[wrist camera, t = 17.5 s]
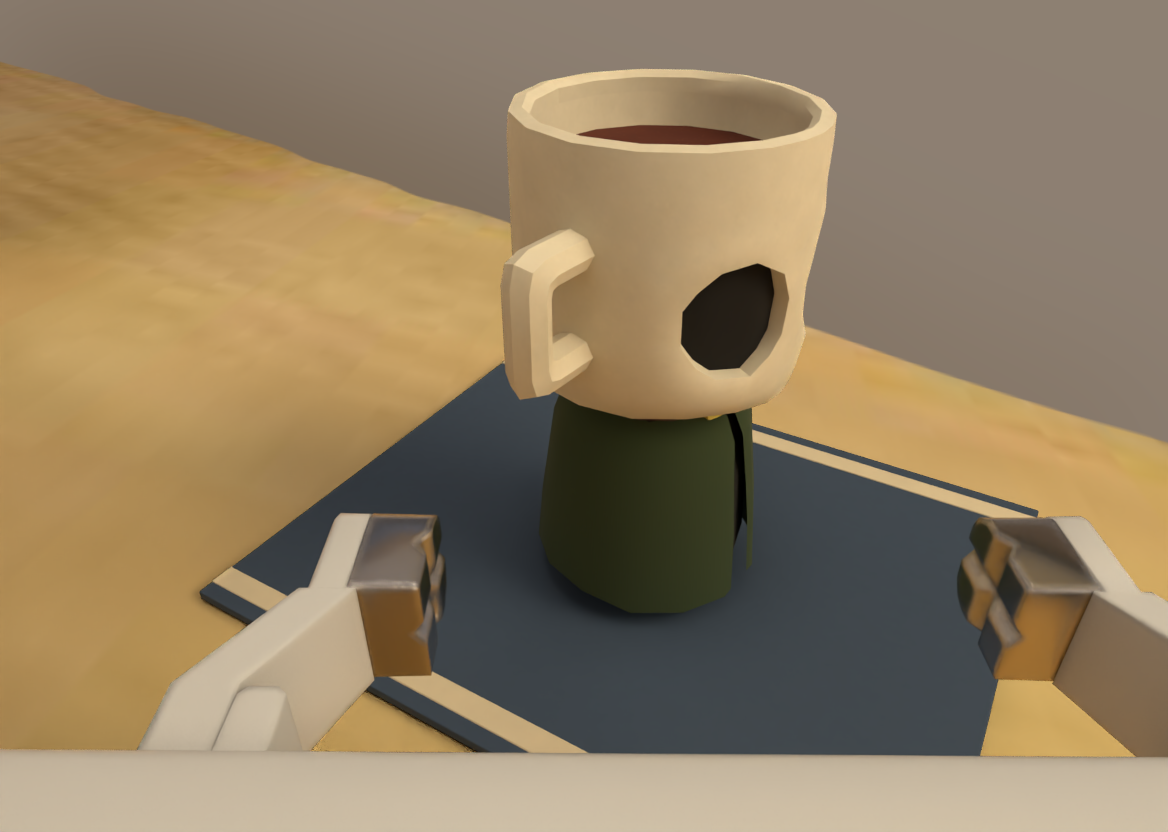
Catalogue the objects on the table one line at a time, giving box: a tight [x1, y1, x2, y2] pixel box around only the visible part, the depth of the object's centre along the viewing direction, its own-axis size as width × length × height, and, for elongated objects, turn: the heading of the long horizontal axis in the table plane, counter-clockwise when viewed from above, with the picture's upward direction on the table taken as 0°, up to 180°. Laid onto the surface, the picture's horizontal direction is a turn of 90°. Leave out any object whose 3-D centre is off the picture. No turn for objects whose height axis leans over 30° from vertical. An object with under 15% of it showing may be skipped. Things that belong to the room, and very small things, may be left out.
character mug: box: [501, 69, 837, 613], centre depth 22 cm, size 11×7×13 cm, turn 143°
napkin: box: [200, 360, 1038, 756], centre depth 26 cm, size 20×16×1 cm
